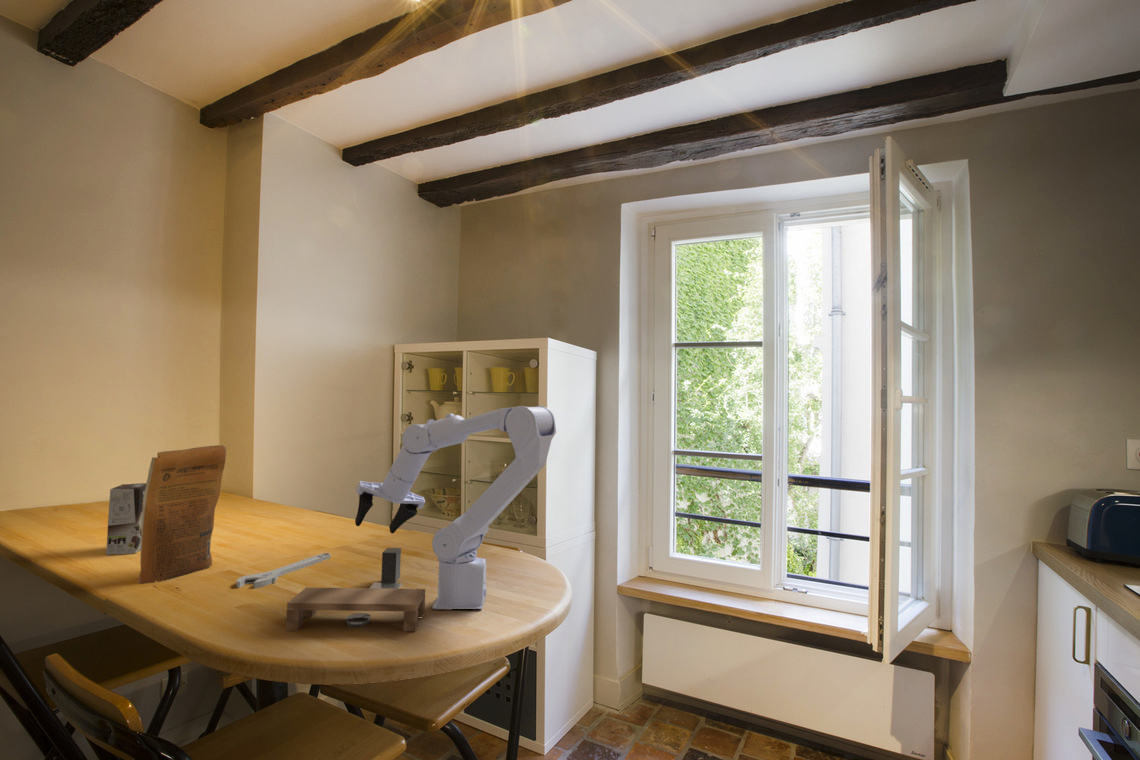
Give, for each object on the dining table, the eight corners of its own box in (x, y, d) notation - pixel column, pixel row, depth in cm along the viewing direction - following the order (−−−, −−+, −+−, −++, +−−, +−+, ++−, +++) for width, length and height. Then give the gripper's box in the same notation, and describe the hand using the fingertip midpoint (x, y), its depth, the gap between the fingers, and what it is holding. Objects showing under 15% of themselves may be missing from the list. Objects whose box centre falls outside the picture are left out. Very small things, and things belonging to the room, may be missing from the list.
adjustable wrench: (323, 558, 142) (324, 551, 142) (343, 562, 140) (344, 555, 140) (231, 587, 119) (231, 578, 119) (253, 592, 117) (253, 583, 117)
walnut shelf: (424, 614, 107) (425, 589, 107) (415, 631, 99) (416, 604, 99) (305, 612, 106) (306, 587, 106) (285, 630, 98) (287, 602, 98)
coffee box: (137, 553, 140) (140, 487, 140) (104, 555, 137) (108, 488, 138) (148, 544, 148) (152, 482, 149) (118, 546, 146) (122, 483, 146)
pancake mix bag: (230, 564, 134) (236, 445, 135) (145, 588, 116) (153, 451, 117) (210, 560, 136) (216, 443, 137) (124, 584, 118) (131, 449, 119)
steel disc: (372, 619, 104) (373, 612, 104) (366, 628, 100) (366, 621, 100) (350, 619, 104) (350, 612, 104) (343, 628, 100) (343, 621, 100)
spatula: (406, 579, 126) (407, 548, 127) (384, 610, 108) (385, 573, 109) (379, 579, 126) (380, 547, 126) (352, 609, 108) (353, 572, 108)
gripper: (430, 473, 126) (402, 522, 129) (367, 455, 119) (339, 508, 121) (436, 490, 121) (408, 542, 123) (371, 473, 113) (342, 528, 115)
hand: (374, 527), depth 121 cm, fingers open, 7 cm apart
